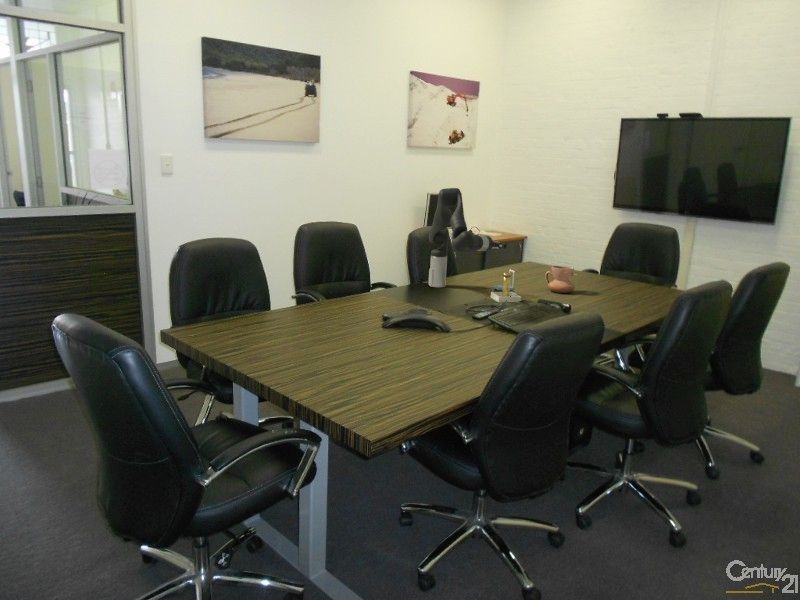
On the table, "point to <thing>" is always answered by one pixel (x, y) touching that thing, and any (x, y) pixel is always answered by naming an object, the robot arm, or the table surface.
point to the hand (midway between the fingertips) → (498, 244)
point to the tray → (499, 298)
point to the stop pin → (506, 284)
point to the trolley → (500, 287)
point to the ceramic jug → (561, 279)
